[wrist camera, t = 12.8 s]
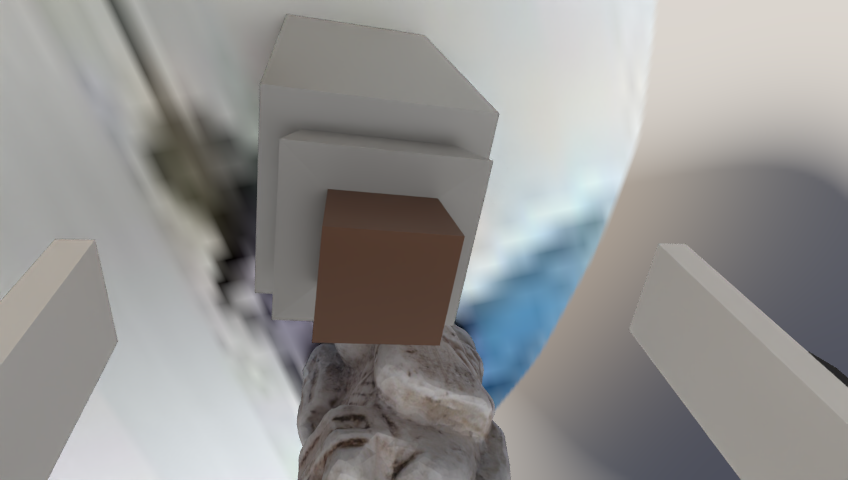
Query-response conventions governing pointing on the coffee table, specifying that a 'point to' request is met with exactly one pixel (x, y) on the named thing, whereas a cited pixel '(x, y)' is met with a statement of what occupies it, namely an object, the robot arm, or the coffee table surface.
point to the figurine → (399, 413)
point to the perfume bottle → (367, 182)
